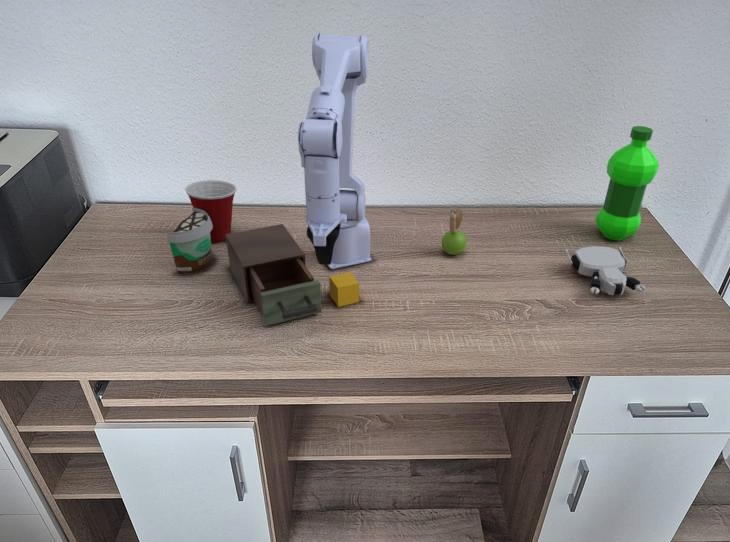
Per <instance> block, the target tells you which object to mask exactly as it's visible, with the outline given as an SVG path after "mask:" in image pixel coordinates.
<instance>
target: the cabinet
mask: <svg viewBox="0 0 730 542" xmlns="http://www.w3.org/2000/svg"><path fill="white" fill-rule="evenodd" d="M225 236H226V241H225V242H226V247H227V248H226V250H227V257H228V263H229V270H230V271H231V273H232V275H233V277H234V279H235V280H236V283H237V285H238V286H239V288H240V290H241V292H242V294H243V296H244V298H245V300H246V302H247V303H248V304H249V303H253V302H255V301H254V299H253V297H252V295H251V293H250V292H249V286H248V277H247V268H252V267H256V266H261V265H266V264H271V263H276V262H281V261H286V260H291V259H296V258H300V259H301V261H302V262H303V263H304V265H305V266H306V267H307V262H306V261H307V259H306V253H305V252H304V250H302V248H301V247H300V246H299V244H298V243H297V241H296V240H295V238H294V237H293V235H291V233H290V231H288V229H287V228H286V226H285V225H284V224H283V223H280V224H274V225H269V226H268V225H267V226H264V227H258V228H252V229H247V230H242V231H235V232H231V233H230V234H225Z"/></svg>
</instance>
